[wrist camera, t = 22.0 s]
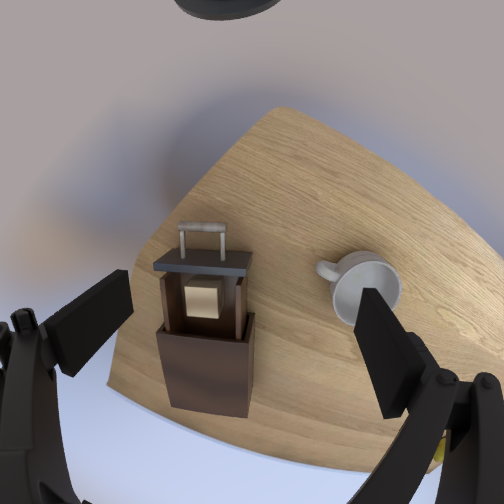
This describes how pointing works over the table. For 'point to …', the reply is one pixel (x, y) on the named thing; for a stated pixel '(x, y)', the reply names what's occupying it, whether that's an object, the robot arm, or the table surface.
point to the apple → (440, 451)
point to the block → (205, 296)
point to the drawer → (209, 264)
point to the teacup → (359, 282)
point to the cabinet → (208, 371)
